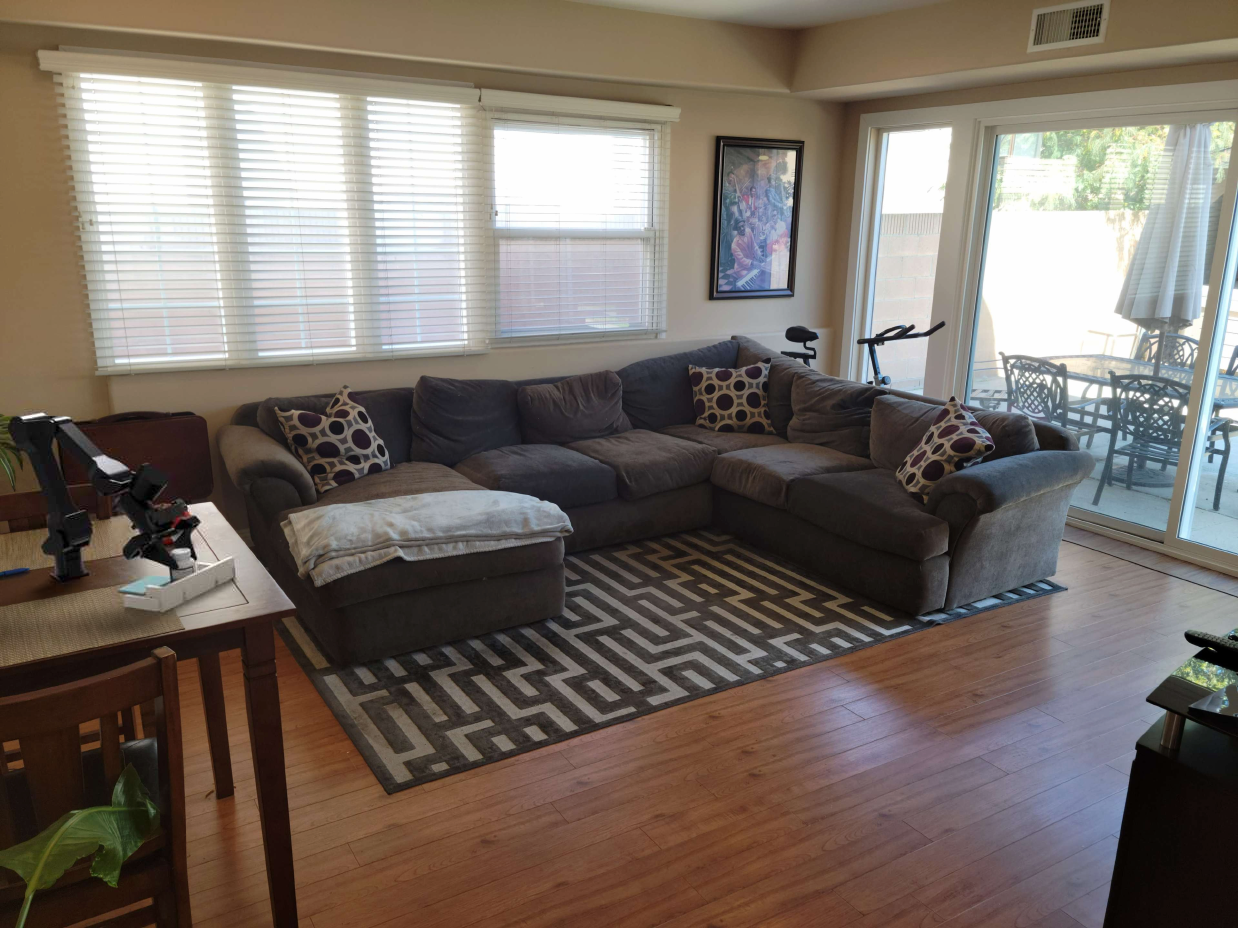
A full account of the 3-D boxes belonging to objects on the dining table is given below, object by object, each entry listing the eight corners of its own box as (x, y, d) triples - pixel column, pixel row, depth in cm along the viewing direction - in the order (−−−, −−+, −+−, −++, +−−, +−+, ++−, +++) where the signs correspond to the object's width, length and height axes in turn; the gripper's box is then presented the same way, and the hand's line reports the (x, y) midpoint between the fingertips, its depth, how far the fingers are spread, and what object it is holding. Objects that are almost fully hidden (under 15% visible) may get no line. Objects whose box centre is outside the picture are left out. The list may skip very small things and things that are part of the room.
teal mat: (118, 591, 204) (117, 589, 204) (151, 576, 213) (151, 574, 213) (143, 595, 202) (143, 593, 202) (176, 580, 211) (175, 578, 211)
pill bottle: (177, 586, 207) (173, 546, 205) (201, 586, 208) (197, 546, 205) (167, 595, 202) (163, 554, 200) (192, 595, 202) (188, 554, 200)
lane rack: (125, 606, 195) (122, 585, 194) (200, 571, 217) (199, 552, 216) (162, 612, 193) (160, 590, 192) (235, 576, 214) (233, 556, 213)
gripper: (127, 501, 192) (174, 556, 191) (190, 481, 209) (234, 531, 209) (101, 533, 196) (148, 586, 195) (166, 510, 213) (209, 559, 213)
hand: (186, 564), depth 203 cm, fingers closed on pill bottle, 5 cm apart
